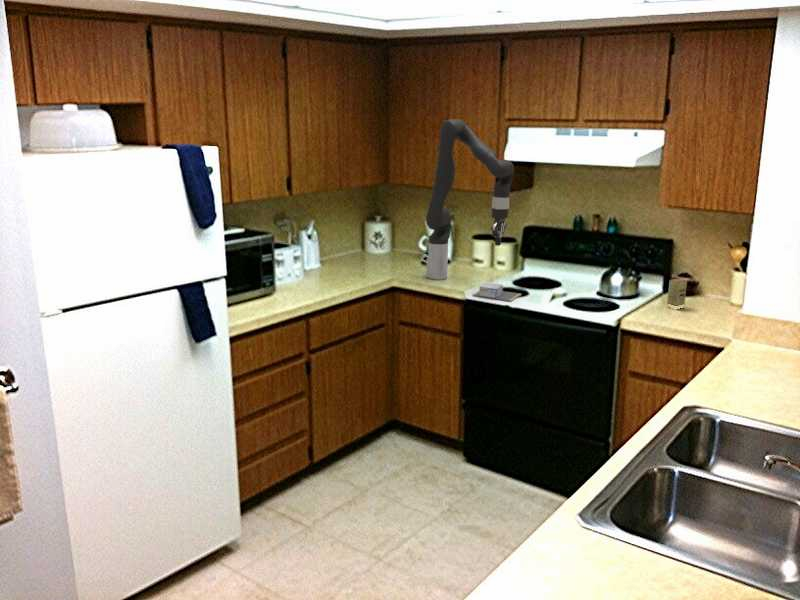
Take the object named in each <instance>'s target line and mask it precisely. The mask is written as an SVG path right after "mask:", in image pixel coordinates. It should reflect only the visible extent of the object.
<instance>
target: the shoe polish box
mask: <svg viewBox="0 0 800 600" xmlns="http://www.w3.org/2000/svg"><path fill="white" fill-rule="evenodd" d="M687 285H688V280H686V279H680V278H674V279H673V278H672V279H669V283H668V290H667V291H668V292H667V293H668V294H667V301H666V305H667V304H671V305H674V306H679V305H683V304H684V305H685V304H686V303H685V302H686V293H687Z"/></svg>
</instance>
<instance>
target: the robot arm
mask: <svg viewBox="0 0 800 600" xmlns="http://www.w3.org/2000/svg"><path fill="white" fill-rule="evenodd" d="M455 141H460V142H462V143H464V145H466V146H467V147H468V148H469V149H470V151H471V153H472V155H473V156H474V157H475V158H476V159H477V160H478V161H479V162H480V163H481V164H483V165H484V166H485V167H486V169H487V170H488V171H489V173H490V174H491V175H492V176H493V177H496V178H497V179H498V181H497V182H496V183H494V185H493V191H492V192H493V195H492V201H491V215H490V216H491V218H493V219H494V220H493V226H491V227H490V229H491V233H492V236H493V237H495V240H494V245H495V246H496V247H497V246H498V247H499V246H501V244H502V237H503V236H504V234H505V232H506V228H507V225H508V223H507V222H506V219H508V218H509V212H510V190H511V189H510V188H511V185H512V182H513V179H514V175H515V167H514V164H513V163H512V161H509V160H503V161H501V160H499V159H498V154H497V153H496V152H495V151H494V150H492V149H491V148H490V147H489V146H488V145H487V144H485V143H484V142H483V141H482V140H481V139H480V138H479V137H478V136H477V135H476V134H475V133H474V132H473V131H472V130H471V128H470V127H469V126H468V125H467V124H466V122H464V121H463V120H461V119H458V118H457V119H455V118H454V119H446V120H444V121H443V122H442V123H441V126H440V130H439V144H438V154H437V162H436V167H435V172H434V178H433V179H434V180H433V184H432V185H433V186H432V191H431V197H430V201H429V206H428V209H427V212H426V217H425V221H426V223H425V224H426V226H427V227H428V229H430V230H432V231H433V232H432V233H431V235H429V236H428V256H427V258H426V274H425V275H426V278H428V279H431V280H437V281H440V280H446V279H447V278H448V264H449V263H448V260H449V259H448V257H449V240H450V236H451V227H452V217H451V216H452V215H451V213H450V212H449V210H448V209H446V208H444V206H445V202H446V199H447V197H448V195H449V194H450V192H451V190H452V188H453V187H454V183H455V178H456V177H455V176H456V171H457V169H456V168H457V167H456V163H455V159H454V156H453V149H454V143H455Z"/></svg>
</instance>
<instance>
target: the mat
mask: <svg viewBox="0 0 800 600" xmlns="http://www.w3.org/2000/svg"><path fill="white" fill-rule="evenodd" d="M521 296H522V293H518V292H511V291H504V290H503V291H502V294H501V295H500V296H498V297H497V298H491V297H484V296H479V290H478V291H477V292H474V293H472V297H474V298H483V299H489V300H493V301H494V300H496V301H501V302H508V303H512V302H513V301H515V300H516V299H518V298H520V297H521Z"/></svg>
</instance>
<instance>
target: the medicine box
mask: <svg viewBox="0 0 800 600" xmlns="http://www.w3.org/2000/svg"><path fill="white" fill-rule="evenodd" d="M478 291H479V296H484V297H491V298H497V297H498V296H500V295H501V294H502V291H504V284H501V283H500V284H499V283H492V282H485V283H483V284H481V285H479V287H478Z"/></svg>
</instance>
